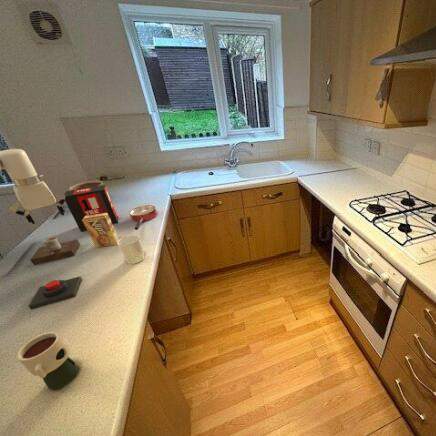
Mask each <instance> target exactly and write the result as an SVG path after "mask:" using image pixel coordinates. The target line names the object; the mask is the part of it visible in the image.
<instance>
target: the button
mask: <svg viewBox="0 0 436 436" xmlns="http://www.w3.org/2000/svg"><path fill="white" fill-rule="evenodd" d="M58 280H59V279H54V280H51V281H48V282H47V283H46V284H45V285H44V286H45V287H46V288H47V290H48V291H51V290H54V289H56V288H58V287H59V286H61V284H60V282H59V281H58Z"/></svg>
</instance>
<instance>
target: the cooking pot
mask: <svg viewBox="0 0 436 436" xmlns="http://www.w3.org/2000/svg"><path fill="white" fill-rule="evenodd" d="M103 183H104V182H103V181H102V180H90V181H84V182H79V183H76V184H74V185H71V186H69V188H68V191H71V190H77V189H83V188H89V187H95V186H101V185H104V184H103ZM106 189H107V187H106ZM107 192H108V193H109V191H108V189H107Z"/></svg>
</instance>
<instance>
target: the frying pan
mask: <svg viewBox="0 0 436 436" xmlns="http://www.w3.org/2000/svg"><path fill="white" fill-rule="evenodd" d="M129 215H130V219H131V220H132V221H133V222H136V225H135V227H134V230H135V231H139V229H140V227H141V225H142V223H143V222H147V221H151V220H153V219H154V218H156V217H157V215H158V212H157V209H156V207H155V205H148V204H147V205H140V206H137V207H135V208H132V209H131V210H130V211H129Z"/></svg>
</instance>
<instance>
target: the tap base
mask: <svg viewBox="0 0 436 436" xmlns="http://www.w3.org/2000/svg"><path fill="white" fill-rule="evenodd" d="M59 243H60V245H61V248H60V249H59V250H56V251H53V252H49V251H48V249H47V248H46V246H45V245H44V246H40V247H38V248H37V249H36V251H35V252H34V254H33V255H32V256H31V258H29V261H30V262H31V264H32V265H33V266H37V265H41V264H46V263H49V262H54V261H58V260H62V259H67V258H70V257H74V256H75V255H76V254H77V252H78V250H79V248H80V246H81V243H80V242H79V240H78V239H73V240H69V241H68V240H67V241H64V242H59Z"/></svg>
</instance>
